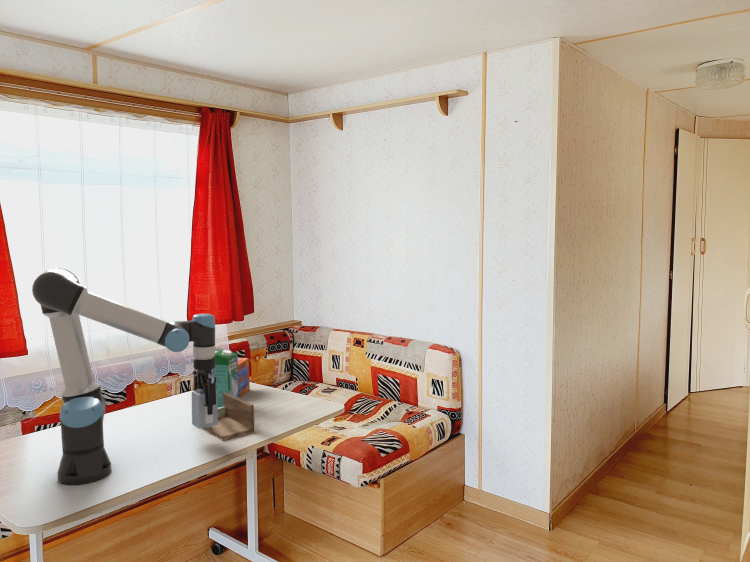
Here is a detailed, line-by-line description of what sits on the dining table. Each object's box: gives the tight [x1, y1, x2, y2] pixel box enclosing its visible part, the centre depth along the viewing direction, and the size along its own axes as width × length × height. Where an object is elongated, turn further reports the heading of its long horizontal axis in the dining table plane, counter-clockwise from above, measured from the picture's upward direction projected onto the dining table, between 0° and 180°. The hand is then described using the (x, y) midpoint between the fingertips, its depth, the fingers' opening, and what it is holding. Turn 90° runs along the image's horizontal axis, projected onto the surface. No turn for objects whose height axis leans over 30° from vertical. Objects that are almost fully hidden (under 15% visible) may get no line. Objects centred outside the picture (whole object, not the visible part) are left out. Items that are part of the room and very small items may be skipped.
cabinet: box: [191, 388, 218, 429], centre depth 207 cm, size 7×6×13 cm
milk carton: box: [211, 347, 239, 408], centre depth 246 cm, size 9×9×25 cm
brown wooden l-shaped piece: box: [201, 392, 256, 441], centre depth 221 cm, size 13×22×10 cm, turn 41°
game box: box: [238, 357, 251, 399], centre depth 266 cm, size 16×16×16 cm
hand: (204, 420), depth 208 cm, fingers closed on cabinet, 6 cm apart
